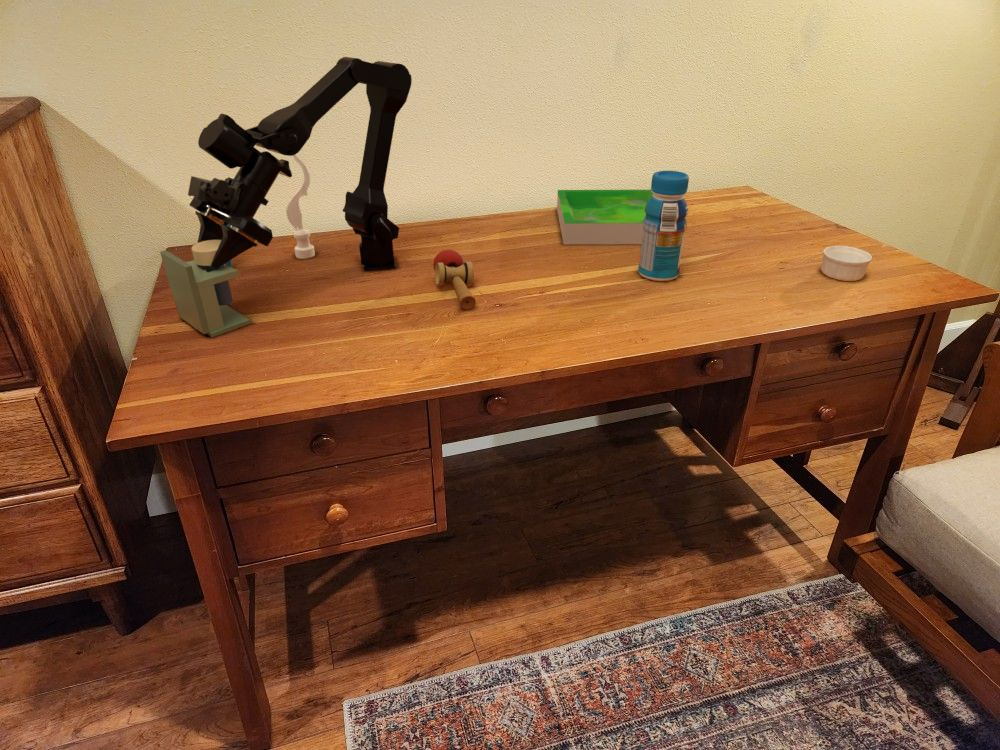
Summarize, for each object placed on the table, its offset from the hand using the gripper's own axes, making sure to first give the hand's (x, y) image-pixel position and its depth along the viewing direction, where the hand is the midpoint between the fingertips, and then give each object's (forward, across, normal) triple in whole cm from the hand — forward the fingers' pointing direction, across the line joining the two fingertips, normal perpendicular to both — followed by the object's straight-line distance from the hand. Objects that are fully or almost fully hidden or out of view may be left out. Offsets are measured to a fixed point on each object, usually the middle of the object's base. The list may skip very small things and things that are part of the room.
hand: (205, 262), depth 114 cm
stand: (+8, 0, +7) cm, 11 cm away
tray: (-55, +21, +71) cm, 92 cm away
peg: (+5, 0, +6) cm, 8 cm away
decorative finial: (-12, -16, +28) cm, 34 cm away
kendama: (-19, +22, +34) cm, 45 cm away
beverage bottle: (-42, +46, +58) cm, 85 cm away
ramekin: (-60, +72, +76) cm, 121 cm away
